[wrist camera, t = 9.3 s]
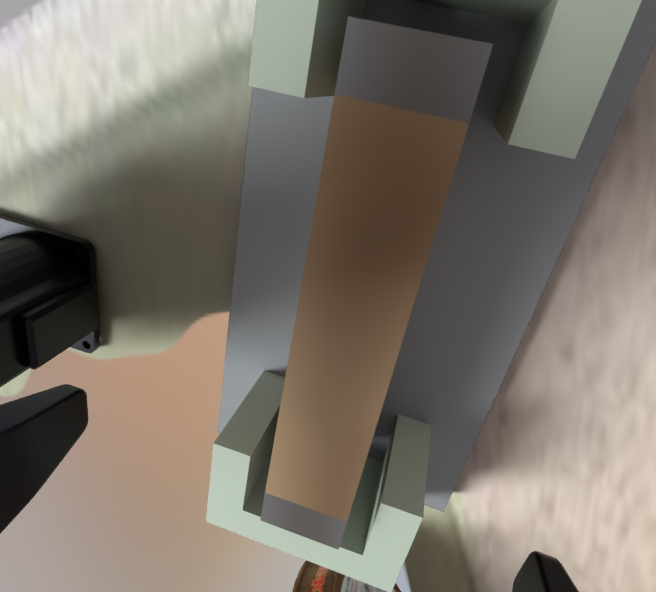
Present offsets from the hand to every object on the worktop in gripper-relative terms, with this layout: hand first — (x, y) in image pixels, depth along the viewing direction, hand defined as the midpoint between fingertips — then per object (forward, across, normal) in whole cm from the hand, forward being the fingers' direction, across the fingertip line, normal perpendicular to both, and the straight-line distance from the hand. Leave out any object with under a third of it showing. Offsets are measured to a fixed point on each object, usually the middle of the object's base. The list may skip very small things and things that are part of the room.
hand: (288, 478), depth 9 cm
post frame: (+12, 0, 0) cm, 12 cm away
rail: (+11, 0, 0) cm, 11 cm away
